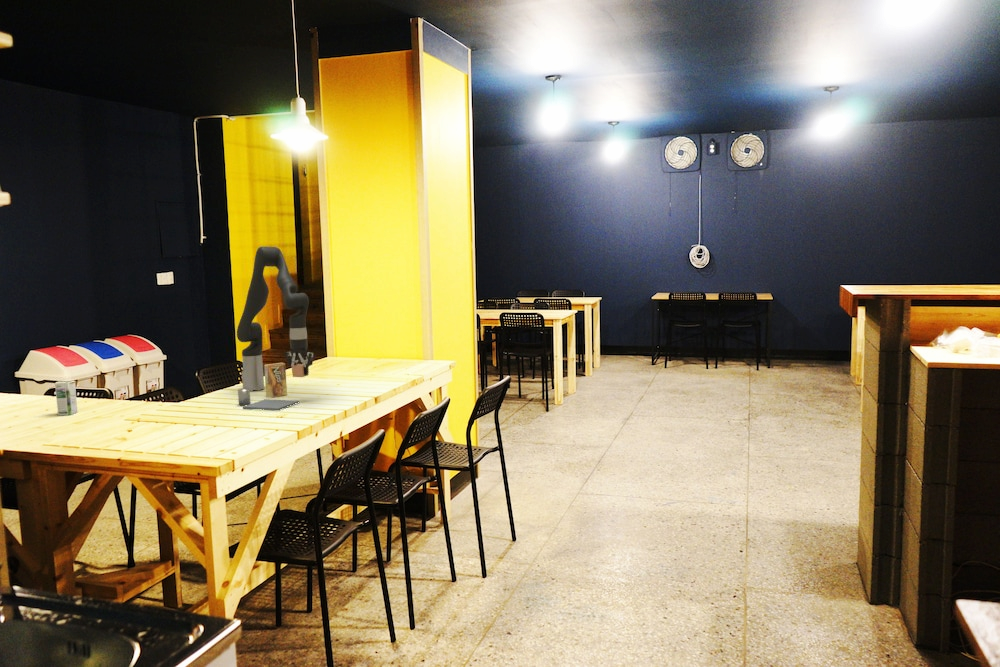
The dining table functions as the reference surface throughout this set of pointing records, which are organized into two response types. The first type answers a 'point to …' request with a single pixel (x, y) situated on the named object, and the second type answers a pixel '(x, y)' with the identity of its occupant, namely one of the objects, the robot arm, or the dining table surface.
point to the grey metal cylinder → (244, 396)
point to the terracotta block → (298, 370)
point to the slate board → (270, 404)
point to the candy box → (275, 379)
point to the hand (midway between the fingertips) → (300, 374)
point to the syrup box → (66, 397)
